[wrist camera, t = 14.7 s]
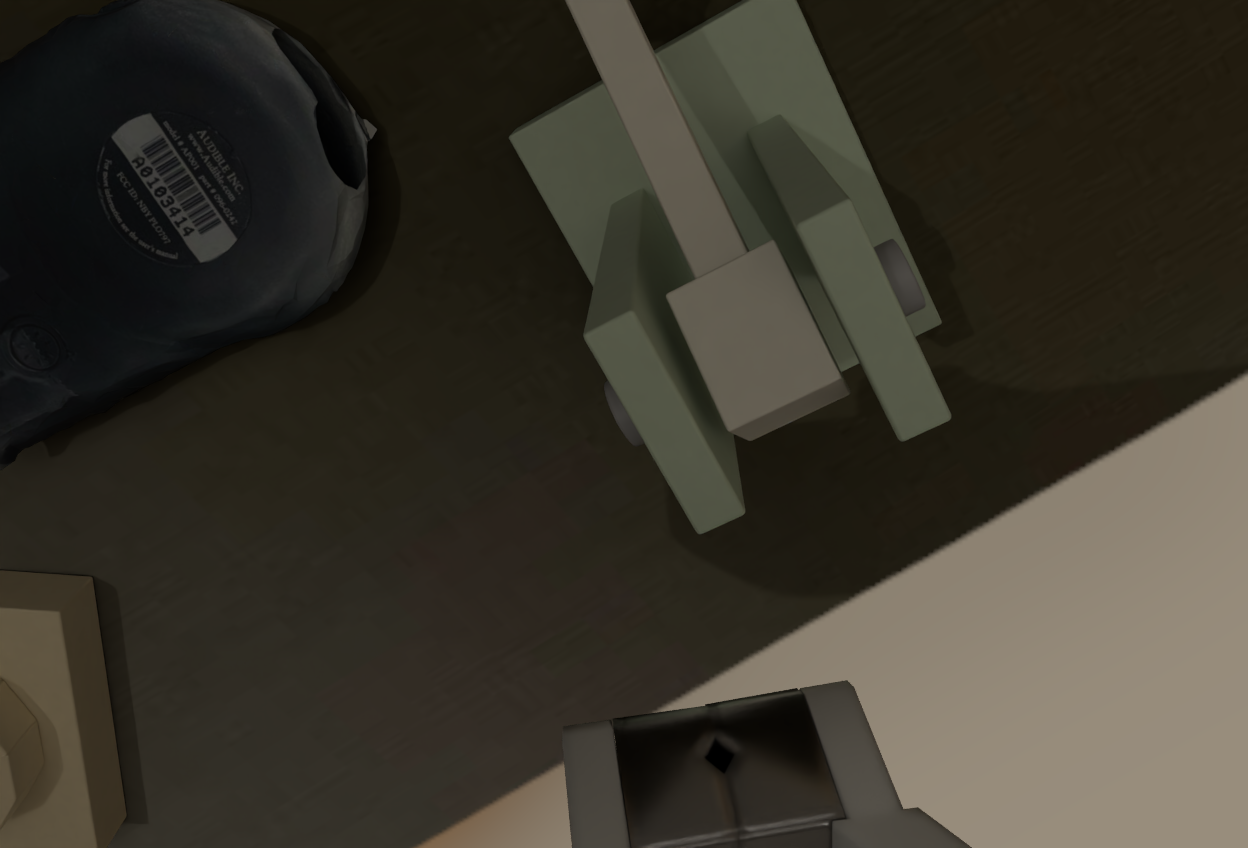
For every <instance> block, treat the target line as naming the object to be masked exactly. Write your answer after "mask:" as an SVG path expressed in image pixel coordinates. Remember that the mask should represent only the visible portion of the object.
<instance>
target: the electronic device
mask: <svg viewBox="0 0 1248 848" xmlns="http://www.w3.org/2000/svg"><path fill="white" fill-rule="evenodd" d="M376 131H377V129H376V128H375V127H374V126H373V125H372V124H371V123H369V122H368V121H367V120H366V119H361V118H360V116H359V115H358V114H357V113H356V111H355V110H354V109H353V107H352V106H351V104H350V103H349V101H348V100H347V98H346V97H345V95H344V94H343V92H342V91H341V89H340V88H339V87H338V85H337V84H336V83H335V81H334V80H333V79H332V77H331V76H330V75H329V74H328V73H327V72H326V70H325V69H324V68H323V67H322V66H321V65H320V64H319V63H318V61H317V60H316V59H315V58H314V57H313V56H312V55H311V54H310V53H309V52H308V51H307V49H306V48H305V47H304V46H303V45H302V44H301V43H300V42H298V41H297V40H295V39H294V38H293V37H291V36H290V35H289V34H287V33H286V32H284V31H283V30H281V29H280V28H278V27H277V26H275V25H274V24H273V23H271V22H270V21H268V20H266V19H263V18H261V17H259V16H257V15H254V14H252V13H250V12H248V11H245V10H243V9H241V8H239V7H237V6H234V5H232V4H229V3H226V2H223V1H220V0H118V1H115V2H112V3H110V4H108V5H107V6H105V7H102V8H101V10H100V11H99V13H98V14H94V15H76V16H72V17H69V18H67V19H65V20H64V21H63V22H62V23H61V24H59V25H57V26H56V27H54V28H52V29H50V30H49V32H48V33H47V34H46V35H44V36H43V37H41V38H39V39H38V40H36V41H34V42H32V43H30V44H28V45H27V46H26V47H25V48H23V49H22V50H21V51H20V52H18V53H17V54H16V55H15V56H13V57H12V58H10V59H8V60H6V61H4V62H2V63H1V64H0V470H2V469H4V468H5V467H6V466H8V465H9V464H11V463H12V462H14V461H15V459H16V457H17V455H18V453H20V452H21V451H22V450H23V449H24V448H27V447H30V446H32V445H34V444H36V443H38V442H40V441H42V440H46V439H47V438H49V437H50V436H51V435H53V434H54V433H57V432H59V431H62V430H64V429H67V428H69V427H71V426H72V425H74V424H75V423H77V422H78V421H80V420H82V419H84V418H86V417H88V416H90V415H92V414H97V413H103V412H106V411H107V410H109V409H110V408H111V407H113V406H114V405H115V404H116V403H117V402H118V401H120V400H121V399H122V398H125V397H127V396H129V395H131V394H133V393H135V392H137V391H138V390H140V389H142V388H144V387H146V386H148V385H150V384H152V383H154V382H156V381H159V380H161V379H162V378H164V377H165V376H167V375H169V374H171V373H173V372H175V371H177V370H179V369H181V368H183V367H185V366H187V365H189V364H191V363H193V362H195V361H197V360H198V359H200V358H202V357H204V356H206V355H208V354H210V353H212V352H214V351H216V350H218V349H219V348H221V347H224V346H227V345H229V344H232V343H235V342H238V341H241V340H244V339H252V338H260V337H265V336H269V335H273V334H275V333H278V332H280V331H282V330H284V329H286V328H287V327H289V326H291V325H292V324H294V323H296V322H298V321H300V320H301V319H303V318H305V317H307V316H308V315H309V314H310V313H311V312H313V311H314V310H315V309H316V308H318V307H319V306H320V305H323V304H325V303H327V302H328V300H329V298H330V297H331V295H332V293H333V292H334V291H338V289H339V287H340V286H341V285H342V284H343V283H344V280H345V278H346V276H347V274H348V272H349V271H350V270H351V269H352V267H353V264H354V262H355V259H356V256H357V253H358V251H359V248H360V244H361V241H362V237H363V234H364V230H365V225H366V219H367V212H368V159H367V143H368V141H370V139H372V137H373V136H374V134H375V132H376Z"/></svg>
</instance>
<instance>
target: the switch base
mask: <svg viewBox="0 0 1248 848" xmlns="http://www.w3.org/2000/svg"><path fill="white" fill-rule="evenodd" d="M654 53H655V55H656V57H657V59H658V61H659V63H660V66H661V68H662V70H663V72H664V74H665V76H666V78H667V80H668V82H669V84H670V86H671V88H672V91H673V93H674V95H675V97H676V99H677V101H678V103H679V105H680V107H681V109H682V111H683V113H684V116H685V118H686V120H687V122H688V124H689V126H690V128H691V130H692V132H693V134H694V136H695V138H696V141H697V143H698V145H699V147H700V149H701V151H702V153H703V155H704V157H705V159H706V161H707V163H708V166H709V168H710V170H711V172H712V174H713V176H714V178H715V180H716V182H717V184H718V186H719V188H720V191H721V193H722V195H723V197H724V199H725V201H726V203H727V205H728V207H729V209H730V211H731V214H732V216H733V218H734V220H735V222H736V224H737V226H738V228H739V230H740V232H741V234H742V236H743V239H744V241H745V243H746V245H747V247H748V249H749V251H751V250H753V249H755V248H757V247H759V246H761V245H763V244H764V243H766V242H768V241H770V240H775V241H776V243H777V245H778V247H779V248H780V250H781V252H782V254H783V256H784V257H785V259H786V261H787V263H788V265H789V266H790V268H791V270H792V272H793V274H794V276H795V278H796V280H797V282H798V284H799V286H800V288H801V291H802V293H803V295H804V297H805V299H806V301H807V303H808V305H809V307H810V309H811V311H812V313H813V315H814V317H815V319H816V321H817V323H818V325H819V328H820V330H821V332H822V334H823V336H824V338H825V340H826V342H827V344H828V346H829V348H830V350H831V352H832V354H833V356H834V358H835V360H836V363H837V365H838V367H839V369H840V371H841V372H842V371H844V370H846V369H848V368H850V367H852V366H855V365H857V364H859V363H860V365H861V367H862V369H863V371H864V372H865V374H866V376H867V378H868V380H869V382H870V384H871V386H872V388H873V390H874V392H875V394H876V396H877V398H878V400H879V402H880V404H881V406H882V408H883V410H884V412H885V414H886V416H887V418H888V420H889V422H890V424H891V426H892V428H893V430H894V432H895V434H896V436H897V438H898V439H899V440H900V441H906V440H908V439H910V438H912V437H914V436H917V435H919V434H921V433H923V432H925V431H928V430H930V429H932V428H934V427H936V426H938V425H941V424H943V423H945V422H947V421H949V420H950V419H951V413H950V411H949V409H948V407H947V404H946V402H945V400H944V398H943V396H942V394H941V391H940V389H939V387H938V385H937V383H936V381H935V379H934V376H933V374H932V372H931V370H930V368H929V366H928V363H927V361H926V359H925V357H924V355H923V353H922V351H921V348H920V346H919V344H918V342H917V340H916V338H915V336H917V335H919V334H921V333H924V332H926V331H928V330H930V329H932V328H934V327H936V326H938V325H940V324H941V323H942V321H941V319H940V317H939V315H938V312H937V310H936V308H935V306H934V304H933V301H932V299H931V297H930V295H929V293H928V290H927V288H926V286H925V284H924V282H923V279H922V277H921V275H920V273H919V270H918V268H917V266H916V264H915V262H914V259H913V257H912V255H911V253H910V251H909V248H908V246H907V244H906V242H905V240H904V237H903V235H902V233H901V231H900V228H899V226H898V224H897V222H896V220H895V217H894V215H893V213H892V211H891V209H890V206H889V204H888V202H887V200H886V198H885V195H884V193H883V191H882V189H881V186H880V184H879V182H878V180H877V178H876V175H875V173H874V171H873V169H872V167H871V164H870V162H869V160H868V158H867V156H866V153H865V151H864V149H863V147H862V144H861V142H860V140H859V138H858V136H857V133H856V131H855V129H854V127H853V125H852V122H851V120H850V118H849V116H848V114H847V111H846V109H845V107H844V105H843V102H842V100H841V98H840V96H839V94H838V91H837V89H836V87H835V85H834V83H833V80H832V78H831V76H830V74H829V72H828V69H827V67H826V65H825V63H824V61H823V58H822V56H821V54H820V52H819V49H818V47H817V45H816V43H815V41H814V38H813V36H812V34H811V32H810V30H809V27H808V25H807V23H806V21H805V19H804V16H803V14H802V12H801V10H800V7H799V5H798V3H797V1H796V0H742V1H740V2H739V3H737V4H735V5H733V6H731V7H730V8H728V9H726V10H724V11H723V12H721V13H719V14H717V15H716V16H714V17H712V18H710V19H709V20H707V21H705V22H703V23H701V24H700V25H698V26H696V27H694V28H693V29H691V30H689V31H687V32H686V33H684V34H682V35H680V36H679V37H677V38H675V39H673V40H671V41H670V42H668V43H666V44H664V45H663V46H661V47H659V48H657V49H656V50H654ZM509 139H510V141H511V143H512V145H513V146H514V148H515V150H516V152H517V154H518V155H519V157H520V159H521V161H522V162H523V164H524V166H525V168H526V169H527V171H528V173H529V175H530V176H531V178H532V180H533V182H534V184H535V185H536V187H537V189H538V191H539V192H540V194H541V196H542V198H543V199H544V201H545V203H546V205H547V206H548V208H549V210H550V212H551V214H552V215H553V217H554V219H555V221H556V222H557V224H558V226H559V228H560V229H561V231H562V233H563V235H564V236H565V238H566V240H567V242H568V244H569V245H570V247H571V249H572V251H573V252H574V254H575V256H576V258H577V259H578V261H579V263H580V265H581V266H582V268H583V270H584V272H585V274H586V275H587V277H588V279H589V281H590V282H591V284H592V286H593V292H592V297H591V302H590V306H589V311H588V316H587V320H586V325H585V330H584V334H583V335H584V339H585V341H586V343H587V345H588V346H589V348H590V350H591V352H592V353H593V355H594V357H595V358H596V360H597V362H598V364H599V365H600V367H601V369H602V370H603V372H604V374H605V376H606V377H607V379H608V381H606V382H605V384H604V389H605V395H606V399H607V402H608V404H609V407H610V409H611V412H612V414H613V416H614V418H615V420H616V422H617V424H618V426H619V427H620V429H621V431H622V432H623V434H624V435H625V437H626V438H627V439H628V440H629V441H630V442H631V443H632V444H633V445H634V446H640V445H642V444H644V443H645V445H646V446H647V448H648V450H649V452H650V453H651V455H652V457H653V458H654V460H655V462H656V464H657V465H658V467H659V469H660V471H661V472H662V474H663V476H664V477H665V479H666V481H667V483H668V484H669V486H670V488H671V489H672V491H673V493H674V495H675V496H676V498H677V500H678V502H679V503H680V505H681V507H682V508H683V510H684V512H685V514H686V515H687V517H688V519H689V521H690V522H691V524H692V526H693V527H694V529H695V531H696V532H697V533H698V534H703V533H705V532H707V531H710V530H712V529H714V528H716V527H718V526H720V525H723V524H725V523H727V522H729V521H731V520H734V519H736V518H738V517H740V516H742V515H743V514H745V506H744V500H743V493H742V487H741V480H740V474H739V468H738V461H737V455H736V448H735V442H734V435H733V433H730V432H728V431H727V429H726V427H725V425H724V423H723V421H722V418H721V416H720V414H719V412H718V410H717V408H716V405H715V403H714V401H713V399H712V397H711V394H710V392H709V390H708V388H707V386H706V384H705V381H704V379H703V377H702V375H701V373H700V371H699V368H698V366H697V364H696V362H695V360H694V357H693V355H692V353H691V351H690V349H689V347H688V344H687V342H686V340H685V338H684V336H683V333H682V331H681V329H680V327H679V325H678V323H677V320H676V318H675V316H674V314H673V312H672V309H671V307H670V305H669V303H668V301H667V299H666V294H667V293H669V292H671V291H673V290H675V289H677V288H679V287H681V286H683V285H685V284H687V283H688V282H690V281H692V280H694V279H695V278H694V276H693V274H692V271H691V269H690V267H689V265H688V263H687V261H686V259H685V256H684V254H683V252H682V250H681V248H680V246H679V244H678V241H677V239H676V237H675V235H674V233H673V231H672V229H671V226H670V224H669V222H668V220H667V218H666V216H665V214H664V211H663V209H662V207H661V205H660V203H659V201H658V198H657V196H656V194H655V192H654V190H653V188H652V186H651V183H650V181H649V179H648V177H647V175H646V173H645V171H644V168H643V166H642V164H641V162H640V160H639V158H638V156H637V153H636V151H635V149H634V147H633V145H632V143H631V141H630V138H629V136H628V134H627V132H626V130H625V128H624V126H623V123H622V121H621V119H620V117H619V115H618V113H617V111H616V108H615V106H614V104H613V102H612V100H611V98H610V96H609V93H608V91H607V89H606V87H605V85H604V83H603V81H602V80H601V81H599V82H597V83H596V84H594V85H592V86H590V87H589V88H587V89H585V90H583V91H581V92H580V93H578V94H576V95H574V96H573V97H571V98H569V99H567V100H566V101H564V102H562V103H560V104H559V105H557V106H555V107H553V108H551V109H550V110H548V111H546V112H544V113H543V114H541V115H539V116H537V117H536V118H534V119H532V120H530V121H529V122H527V123H525V124H523V125H521V126H520V127H518V128H516V129H515V130H514V132H513V133H512V134H511V135H510V136H509Z"/></svg>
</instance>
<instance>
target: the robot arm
mask: <svg viewBox="0 0 1248 848" xmlns="http://www.w3.org/2000/svg"><path fill="white" fill-rule="evenodd" d="M613 727H614V732H613ZM613 727H612V721H611V720H605V721H598V722H591V723H584V724H577V725H570V726H563V736H562V744H563V755H564V765H565V776H566V787H567V797H568V808H569V819H570V830H571V841H572V848H972V847H970V846H969V845H967V844H966V843H965V842H964V841H962V840H961V839H959V838H958V837H957V836H955V835H954V834H953V833H951V832H950V831H949V830H947V829H946V828H945V827H943V826H942V825H941V824H939V823H938V822H937V821H935V820H934V819H933V818H931V817H930V816H929V815H927V814H926V813H925V812H923V811H922V810H921V809H919V808H910V809H903V807H902V805H901V802H900V800H899V798H898V795H897V792H896V790H895V787H894V785H893V783H892V780H891V778H890V775H889V773H888V770H887V768H886V765H885V763H884V760H883V758H882V755H881V753H880V750H879V748H878V745H877V743H876V741H875V738H874V736H873V733H872V731H871V728H870V726H869V723H868V721H867V718H866V716H865V714H864V711H863V708H862V706H861V704H860V701H859V699H858V696H857V694H856V691H855V689H854V687H853V686H852V685H851V684H850V683H849V682H848V681H841V682H835V683H829V684H823V685H817V686H812V687H805V688H800V690H798V689H797V688H795V689H790V690H784V691H779V692H773V693H767V694H762V695H756V696H751V697H745V698H739V699H733V700H728V701H722V702H716V703H711V704H706V705H705V706H701V707H694V708H687V709H679V710H672V711H665V712H658V713H651V714H643V715H636V716H629V717H622V718H615V719H613ZM614 735H615V738H614ZM615 742H616V744H615ZM616 749H617V750H616Z"/></svg>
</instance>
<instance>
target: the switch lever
mask: <svg viewBox="0 0 1248 848" xmlns="http://www.w3.org/2000/svg"><path fill="white" fill-rule="evenodd" d="M565 1H566V3H567V5H568V8H569V10H570V12H571V14H572V16H573V18H574V20H575V23H576V25H577V27H578V29H579V31H580V33H581V35H582V38H583V40H584V42H585V44H586V46H587V48H588V50H589V53H590V55H591V57H592V59H593V61H594V63H595V65H596V68H597V70H598V72H599V74H600V76H601V78H602V81H603V83H604V85H605V87H606V89H607V91H608V93H609V96H610V98H611V100H612V102H613V104H614V106H615V108H616V111H617V113H618V115H619V117H620V119H621V121H622V123H623V126H624V128H625V130H626V132H627V134H628V136H629V138H630V141H631V143H632V145H633V147H634V149H635V151H636V153H637V156H638V158H639V160H640V162H641V164H642V166H643V168H644V171H645V173H646V175H647V177H648V179H649V181H650V183H651V186H652V188H653V190H654V192H655V194H656V196H657V198H658V201H659V203H660V205H661V207H662V209H663V211H664V214H665V216H666V218H667V220H668V222H669V224H670V226H671V229H672V231H673V233H674V235H675V237H676V239H677V241H678V244H679V246H680V248H681V250H682V252H683V254H684V256H685V259H686V261H687V263H688V265H689V267H690V269H691V271H692V274H693V276H694V278H695V279H694V280H692V281H690V282H688V283H687V284H685V285H683V286H681V287H679V288H677V289H675V290H673V291H671V292H669V293H667V294H666V299H667V301H668V303H669V305H670V307H671V309H672V312H673V314H674V316H675V318H676V320H677V323H678V325H679V327H680V329H681V331H682V333H683V336H684V338H685V340H686V342H687V344H688V347H689V349H690V351H691V353H692V355H693V357H694V360H695V362H696V364H697V366H698V368H699V371H700V373H701V375H702V377H703V379H704V381H705V384H706V386H707V388H708V390H709V392H710V394H711V397H712V399H713V401H714V403H715V405H716V408H717V410H718V412H719V414H720V416H721V418H722V421H723V423H724V425H725V427H726V429H727V431H728V432H730V433H733V434H735V435H737V436H739V437H742V438H744V439H746V440H748V441H752V440H754V439H756V438H758V437H760V436H763V435H765V434H767V433H769V432H771V431H773V430H775V429H777V428H780V427H782V426H784V425H786V424H788V423H790V422H792V421H794V420H796V419H799V418H801V417H803V416H805V415H807V414H809V413H811V412H813V411H815V410H818V409H820V408H822V407H824V406H826V405H828V404H830V403H832V402H834V401H837V400H839V399H841V398H843V397H845V396H847V395H849V394H850V389H849V387H848V385H847V383H846V381H845V379H844V377H843V375H842V373H841V371H840V369H839V367H838V365H837V363H836V360H835V358H834V356H833V354H832V352H831V350H830V348H829V346H828V344H827V342H826V340H825V338H824V336H823V334H822V332H821V330H820V328H819V325H818V323H817V321H816V319H815V317H814V315H813V313H812V311H811V309H810V307H809V305H808V303H807V301H806V299H805V297H804V295H803V293H802V291H801V288H800V286H799V284H798V282H797V280H796V278H795V276H794V274H793V272H792V270H791V268H790V266H789V265H788V263H787V261H786V259H785V257H784V256H783V254H782V252H781V250H780V248H779V247H778V245H777V243H776V241H775V240H770V241H768V242H766V243H764V244H763V245H761V246H759V247H757V248H755V249H753V250H751V251H749V249H748V247H747V245H746V243H745V241H744V239H743V236H742V234H741V232H740V230H739V228H738V226H737V224H736V222H735V220H734V218H733V216H732V214H731V211H730V209H729V207H728V205H727V203H726V201H725V199H724V197H723V195H722V193H721V191H720V188H719V186H718V184H717V182H716V180H715V178H714V176H713V174H712V172H711V170H710V168H709V166H708V163H707V161H706V159H705V157H704V155H703V153H702V151H701V149H700V147H699V145H698V143H697V141H696V138H695V136H694V134H693V132H692V130H691V128H690V126H689V124H688V122H687V120H686V118H685V116H684V113H683V111H682V109H681V107H680V105H679V103H678V101H677V99H676V97H675V95H674V93H673V91H672V88H671V86H670V84H669V82H668V80H667V78H666V76H665V74H664V72H663V70H662V68H661V66H660V63H659V61H658V59H657V57H656V55H655V53H654V51H653V49H652V47H651V45H650V43H649V40H648V38H647V36H646V34H645V32H644V30H643V28H642V26H641V24H640V22H639V20H638V18H637V15H636V13H635V11H634V9H633V7H632V5H631V3H630V1H629V0H565Z"/></svg>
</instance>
